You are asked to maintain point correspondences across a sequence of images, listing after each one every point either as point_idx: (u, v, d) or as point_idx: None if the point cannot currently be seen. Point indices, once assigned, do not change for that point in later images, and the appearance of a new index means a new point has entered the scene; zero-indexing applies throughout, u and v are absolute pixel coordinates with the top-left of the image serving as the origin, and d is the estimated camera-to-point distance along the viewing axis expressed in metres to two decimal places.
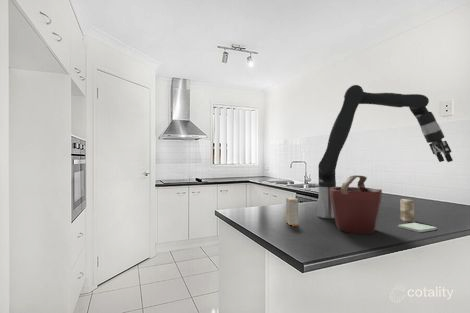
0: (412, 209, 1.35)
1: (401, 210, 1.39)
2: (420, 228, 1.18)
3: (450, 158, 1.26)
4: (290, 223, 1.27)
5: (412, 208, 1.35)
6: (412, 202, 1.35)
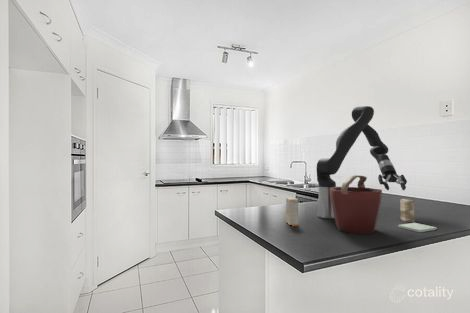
0: (412, 209, 1.35)
1: (401, 210, 1.39)
2: (420, 228, 1.18)
3: None
4: (290, 223, 1.27)
5: (412, 208, 1.35)
6: (412, 202, 1.35)
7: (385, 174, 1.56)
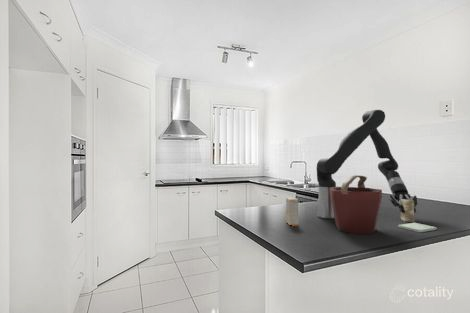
0: (412, 209, 1.35)
1: None
2: (420, 228, 1.18)
3: None
4: (290, 223, 1.27)
5: (412, 208, 1.35)
6: (412, 202, 1.35)
7: (395, 193, 1.43)
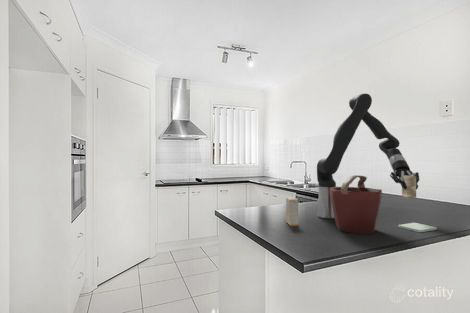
0: (414, 185, 1.31)
1: None
2: (420, 228, 1.18)
3: None
4: (290, 223, 1.27)
5: (414, 184, 1.31)
6: (414, 178, 1.31)
7: (397, 170, 1.39)
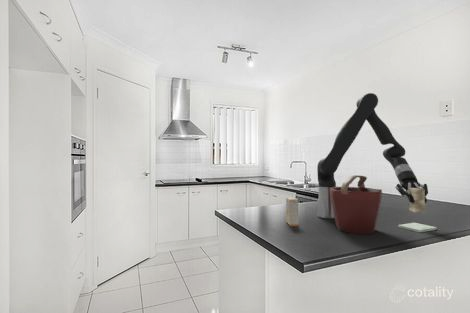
0: (423, 198, 1.19)
1: None
2: (420, 228, 1.18)
3: (425, 200, 1.21)
4: (290, 223, 1.27)
5: (423, 197, 1.19)
6: (422, 190, 1.19)
7: (403, 182, 1.28)
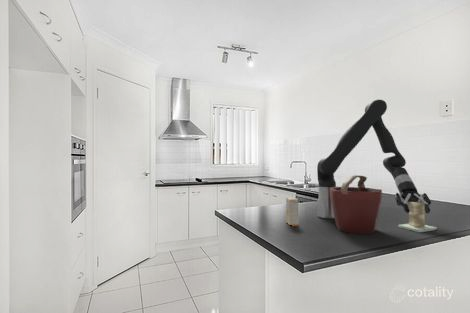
0: (422, 213, 1.19)
1: (410, 214, 1.23)
2: (420, 228, 1.18)
3: None
4: (290, 223, 1.27)
5: (422, 212, 1.19)
6: (422, 205, 1.20)
7: (403, 192, 1.28)
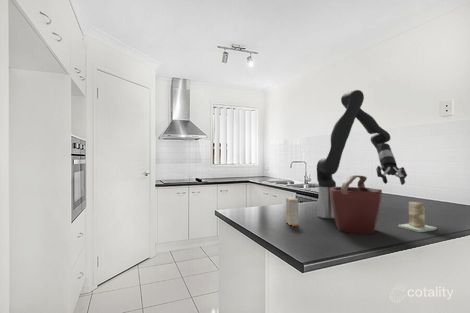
0: (422, 213, 1.19)
1: (410, 214, 1.23)
2: (420, 228, 1.18)
3: None
4: (290, 223, 1.27)
5: (422, 212, 1.19)
6: (422, 205, 1.20)
7: (384, 166, 1.44)
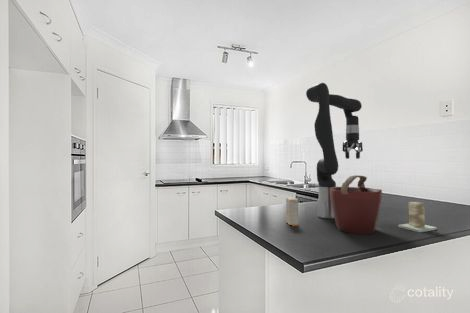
0: (422, 213, 1.19)
1: (410, 214, 1.23)
2: (420, 228, 1.18)
3: None
4: (290, 223, 1.27)
5: (422, 212, 1.19)
6: (422, 205, 1.20)
7: (350, 141, 1.60)
